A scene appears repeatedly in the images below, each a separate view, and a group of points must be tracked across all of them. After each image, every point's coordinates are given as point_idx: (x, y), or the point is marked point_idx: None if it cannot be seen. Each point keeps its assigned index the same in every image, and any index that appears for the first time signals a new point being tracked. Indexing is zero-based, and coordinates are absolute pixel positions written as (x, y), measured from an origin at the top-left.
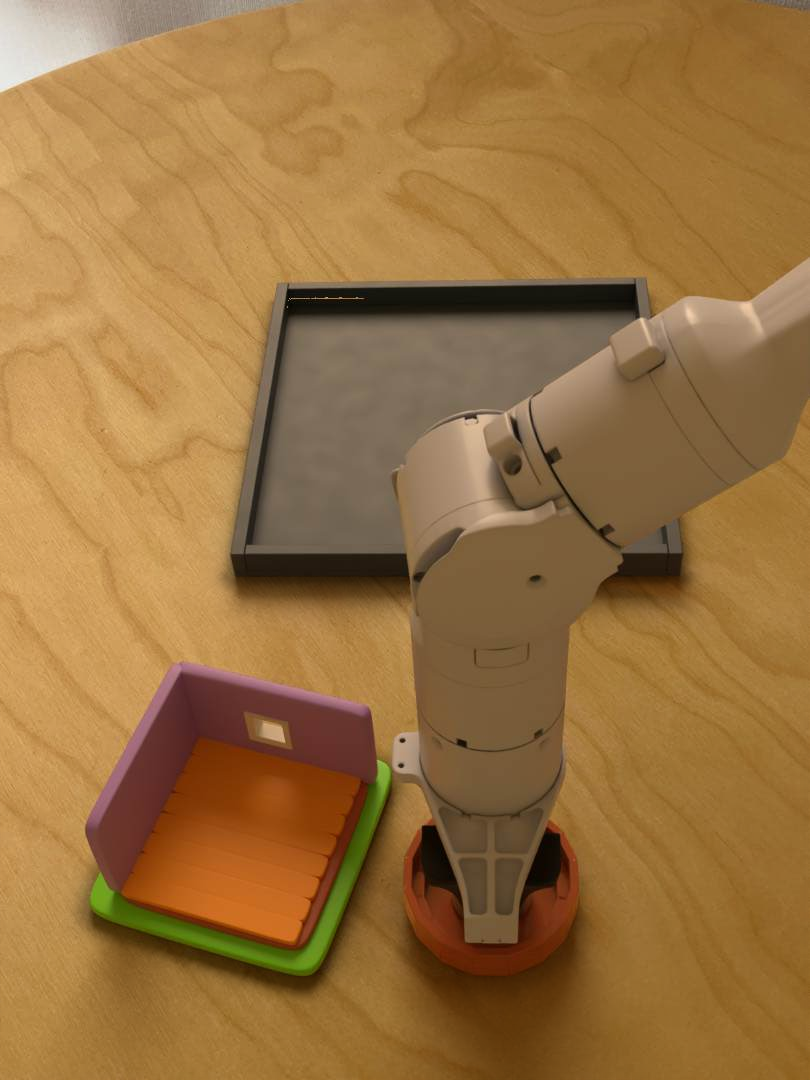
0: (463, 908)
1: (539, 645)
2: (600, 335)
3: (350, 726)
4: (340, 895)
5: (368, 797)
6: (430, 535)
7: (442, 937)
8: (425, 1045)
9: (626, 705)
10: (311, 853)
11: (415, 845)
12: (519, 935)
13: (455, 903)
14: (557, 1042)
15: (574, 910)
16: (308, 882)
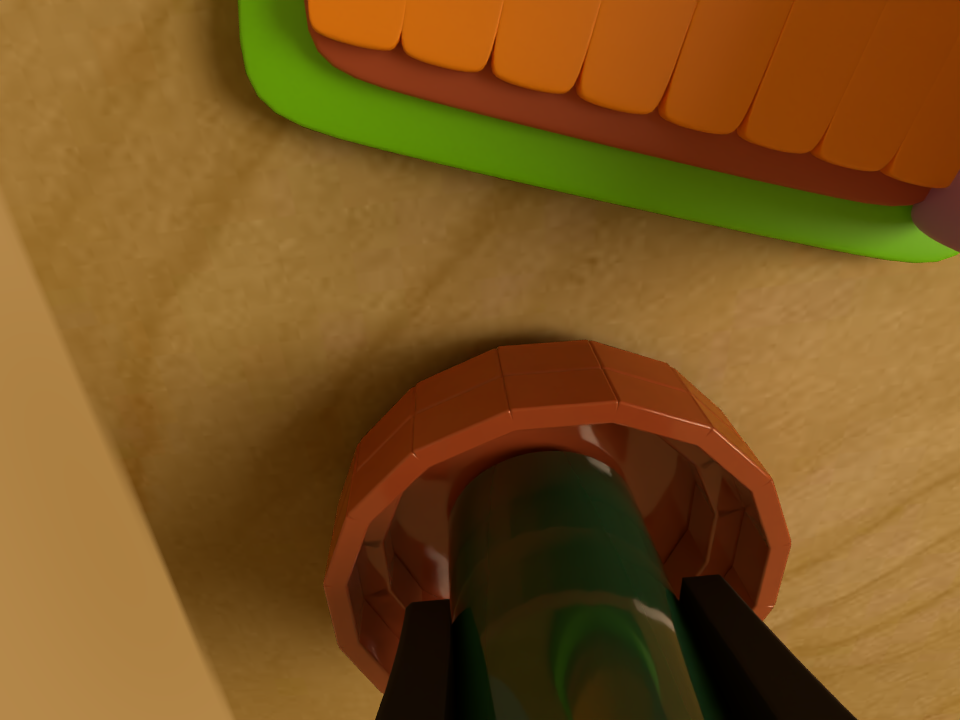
0: (397, 654)
1: None
2: None
3: None
4: (527, 161)
5: (866, 206)
6: None
7: (359, 523)
8: (159, 411)
9: (946, 663)
10: (676, 43)
11: (656, 426)
12: (447, 570)
13: (496, 489)
14: (246, 620)
15: None
16: (557, 49)
